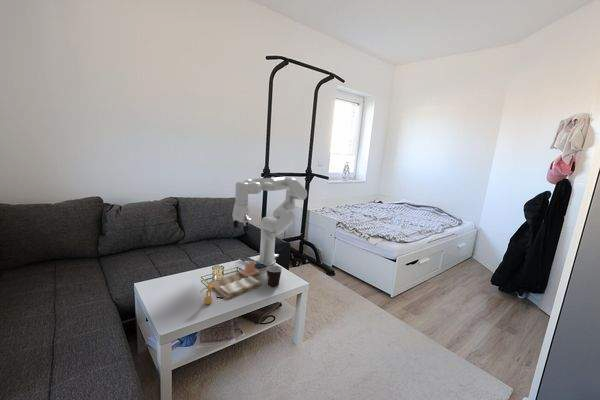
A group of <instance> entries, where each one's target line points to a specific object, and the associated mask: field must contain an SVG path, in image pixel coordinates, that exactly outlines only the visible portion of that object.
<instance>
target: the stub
mask: <svg viewBox="0 0 600 400" xmlns="http://www.w3.org/2000/svg"><path fill="white" fill-rule="evenodd" d="M239 273H240V274H242V275H244V276H245V277H248V276H255V275H257V274H260V273H261V271H260V270H259V269H258V268H256V261H254V260H252V259H251V260H248V261H245V266H244V269H243V270H240V271H239Z"/></svg>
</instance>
